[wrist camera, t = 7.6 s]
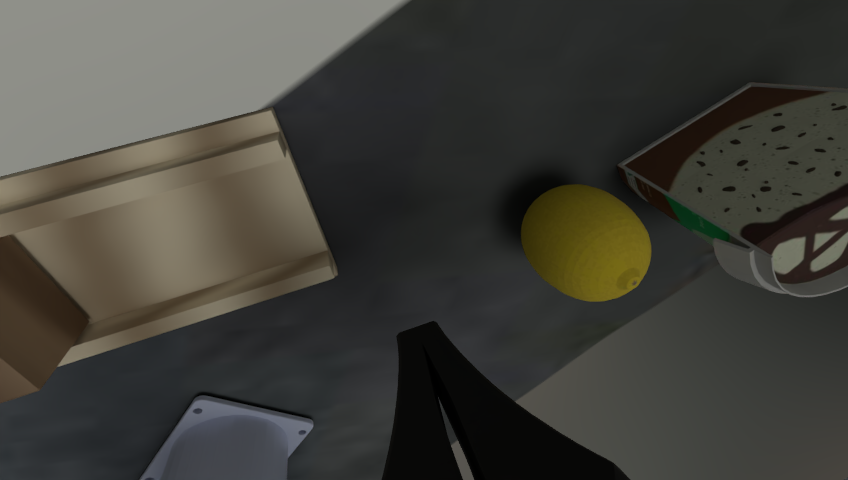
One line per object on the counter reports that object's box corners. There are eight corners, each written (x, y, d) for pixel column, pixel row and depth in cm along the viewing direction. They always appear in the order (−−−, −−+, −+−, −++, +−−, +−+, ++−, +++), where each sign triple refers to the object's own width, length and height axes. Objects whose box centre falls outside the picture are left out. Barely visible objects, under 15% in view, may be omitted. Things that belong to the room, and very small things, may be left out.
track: (272, 106, 16) (260, 134, 12) (337, 267, 21) (344, 326, 17) (-209, 230, 14) (-423, 316, 10) (-15, 378, 19) (-105, 478, 15)
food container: (613, 246, 26) (755, 349, 18) (595, 177, 23) (759, 265, 15) (767, 152, 26) (986, 213, 18) (771, 68, 23) (1045, 94, 14)
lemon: (590, 213, 24) (697, 285, 18) (519, 262, 25) (597, 350, 18) (563, 146, 21) (680, 202, 15) (483, 202, 22) (561, 282, 15)
